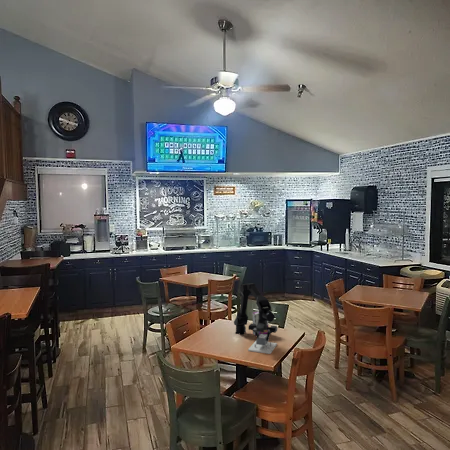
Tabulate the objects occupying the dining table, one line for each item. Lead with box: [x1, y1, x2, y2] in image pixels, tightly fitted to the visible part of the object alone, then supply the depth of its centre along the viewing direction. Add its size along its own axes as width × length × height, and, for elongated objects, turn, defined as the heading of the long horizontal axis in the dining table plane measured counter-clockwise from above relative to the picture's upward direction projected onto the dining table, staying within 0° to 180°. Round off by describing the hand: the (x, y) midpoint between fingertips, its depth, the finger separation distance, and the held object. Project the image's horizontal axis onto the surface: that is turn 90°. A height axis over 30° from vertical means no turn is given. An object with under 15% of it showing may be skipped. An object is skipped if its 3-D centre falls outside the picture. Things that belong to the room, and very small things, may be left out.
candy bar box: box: [251, 311, 269, 337], centre depth 286 cm, size 11×5×16 cm, turn 112°
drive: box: [255, 334, 270, 345], centre depth 259 cm, size 6×10×4 cm, turn 159°
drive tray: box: [247, 340, 278, 355], centre depth 259 cm, size 15×18×3 cm
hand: (262, 340), depth 259 cm, fingers closed on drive, 6 cm apart
